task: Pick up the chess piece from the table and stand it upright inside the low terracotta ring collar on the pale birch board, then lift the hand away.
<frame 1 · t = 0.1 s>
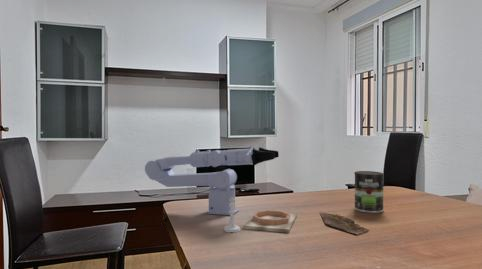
hand: (276, 154, 111), 22 cm above the table, tool horizontal, fingers open, 7 cm apart
coffee can: (368, 210, 121), on the table
ring collar: (271, 217, 104), on the birch board, point 1 cm above the table
birch board: (271, 222, 104), on the table
wooden fragment: (338, 224, 104), on the table
chess piece: (232, 230, 97), on the table
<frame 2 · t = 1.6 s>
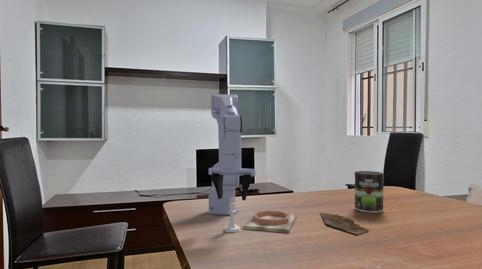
hand: (232, 199, 96), 9 cm above the table, tool pointing down, fingers open, 7 cm apart
nothing on the table moved.
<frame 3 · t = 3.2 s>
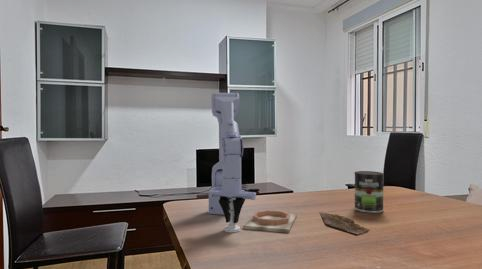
hand: (232, 222, 97), 2 cm above the table, tool pointing down, fingers closed on chess piece
chess piece: (232, 230, 97), on the table, touching gripper
everything else where it was.
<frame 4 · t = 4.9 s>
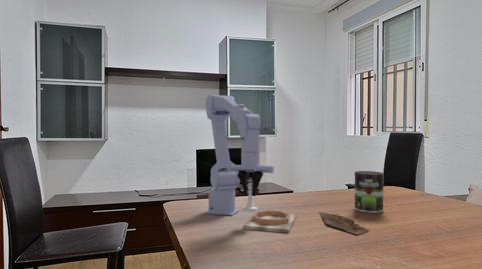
hand: (250, 195, 100), 10 cm above the table, tool pointing down, fingers closed on chess piece, 2 cm apart
chess piece: (249, 210, 99), point 5 cm above the table, touching gripper
everything else where it was.
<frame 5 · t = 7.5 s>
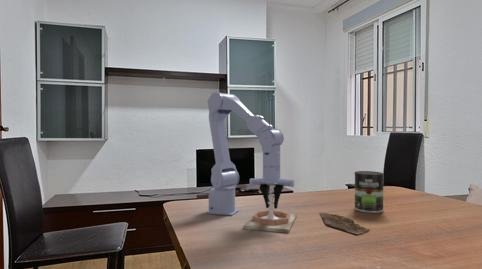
hand: (271, 207, 104), 5 cm above the table, tool pointing down, fingers closed on chess piece, 2 cm apart
chess piece: (271, 220, 103), point 1 cm above the table, touching birch board, gripper
everything else where it was.
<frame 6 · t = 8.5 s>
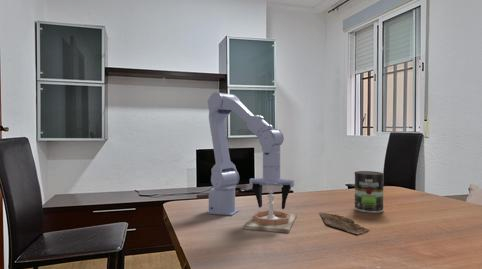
hand: (271, 207, 104), 5 cm above the table, tool pointing down, fingers open, 7 cm apart
chess piece: (271, 221, 103), point 1 cm above the table, touching birch board
everything else where it was.
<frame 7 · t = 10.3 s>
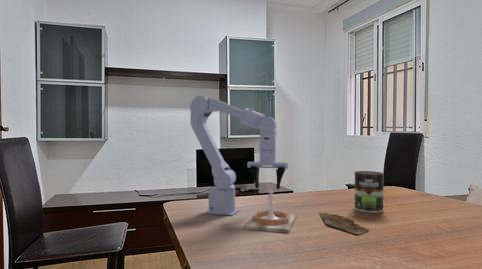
hand: (267, 188, 114), 10 cm above the table, tool pointing down, fingers open, 7 cm apart
nothing on the table moved.
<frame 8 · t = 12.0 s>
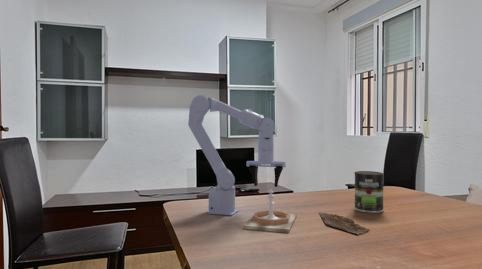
hand: (266, 186, 119), 9 cm above the table, tool pointing down, fingers open, 7 cm apart
nothing on the table moved.
at the end: chess piece 1.1 cm off-centre on the ring collar, point 0.8 cm above the ring collar's base; chess piece tilted 0°; the gripper is holding nothing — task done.
